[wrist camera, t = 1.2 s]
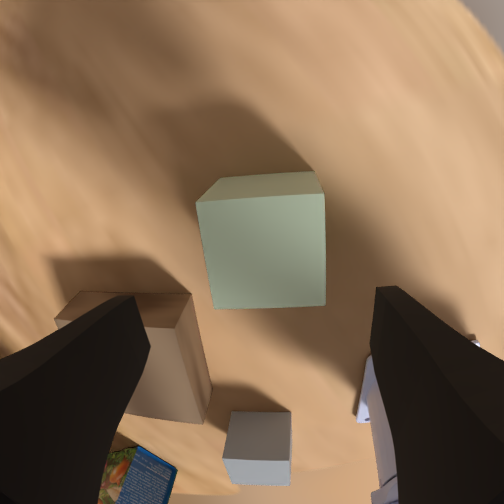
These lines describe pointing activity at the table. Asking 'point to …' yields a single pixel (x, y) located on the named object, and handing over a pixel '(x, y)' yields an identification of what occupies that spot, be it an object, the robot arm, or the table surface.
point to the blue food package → (136, 478)
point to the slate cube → (259, 448)
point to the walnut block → (162, 355)
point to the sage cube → (265, 240)
